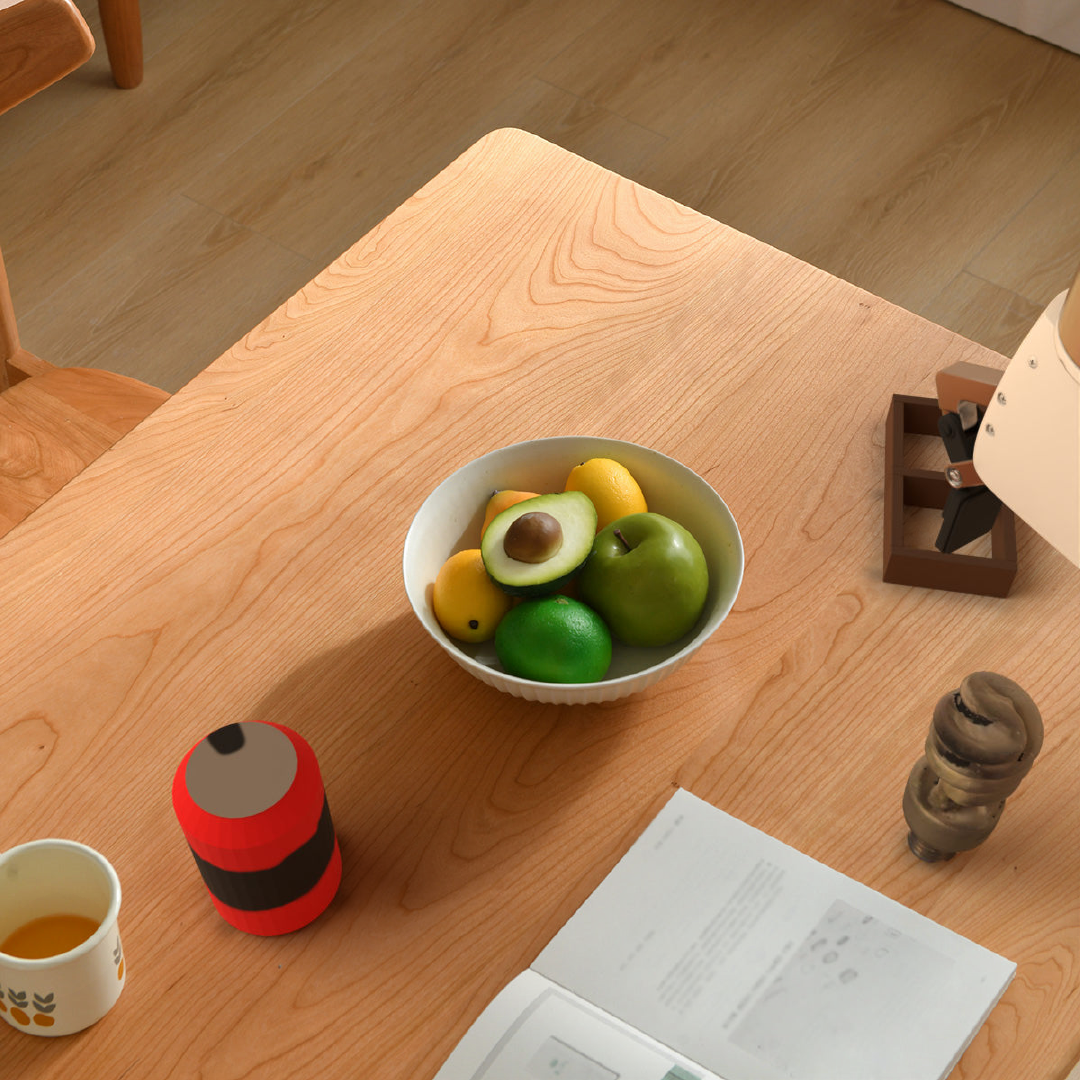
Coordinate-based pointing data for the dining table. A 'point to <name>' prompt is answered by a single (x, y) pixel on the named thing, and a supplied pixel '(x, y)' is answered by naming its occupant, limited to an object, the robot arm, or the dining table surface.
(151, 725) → the dining table surface
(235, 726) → the soda can
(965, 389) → the robot arm
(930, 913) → the dining table surface
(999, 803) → the light bulb
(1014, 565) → the socket block
